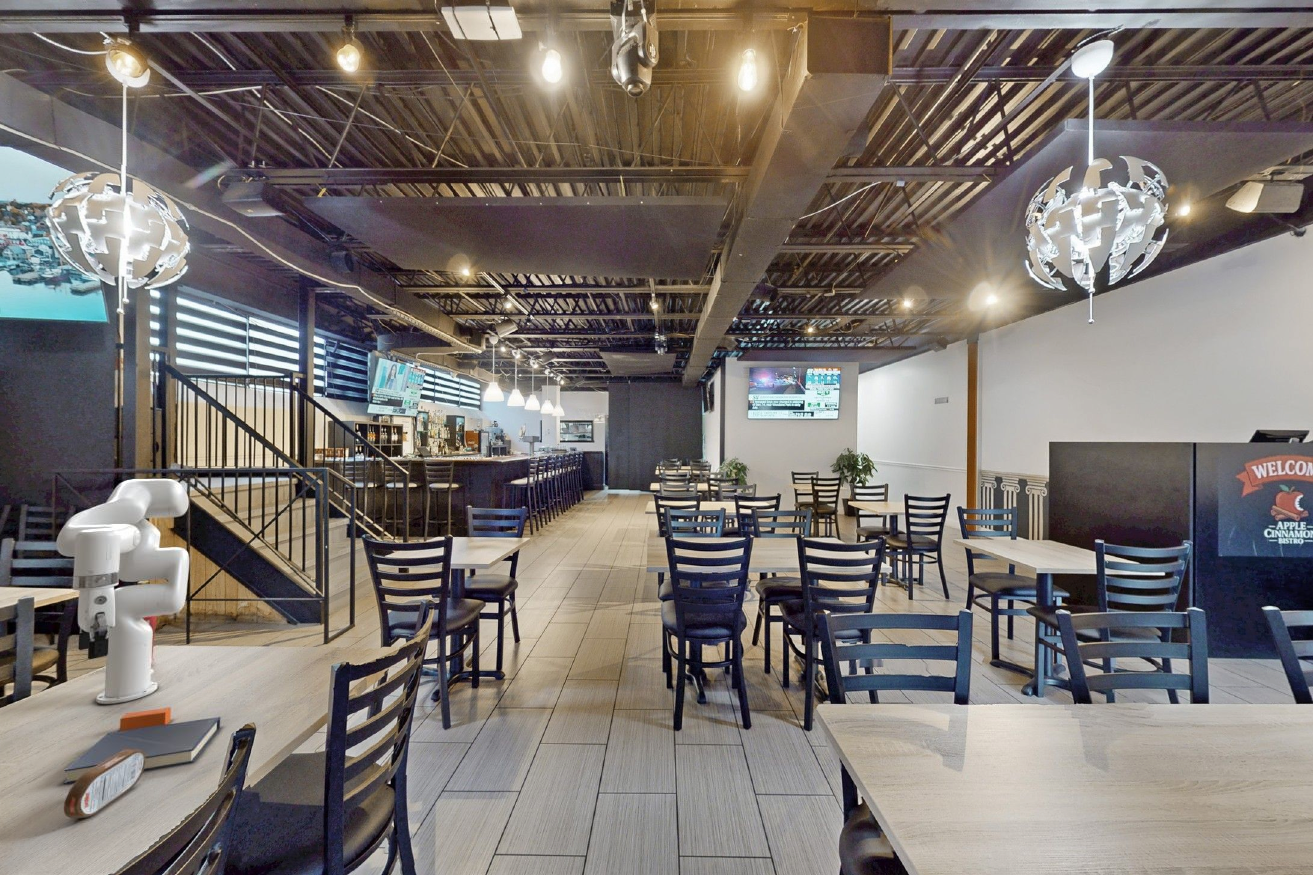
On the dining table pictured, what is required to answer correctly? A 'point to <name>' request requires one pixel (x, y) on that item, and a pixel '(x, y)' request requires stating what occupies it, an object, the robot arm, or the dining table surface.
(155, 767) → the book
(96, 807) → the tin
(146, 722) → the long orange block
